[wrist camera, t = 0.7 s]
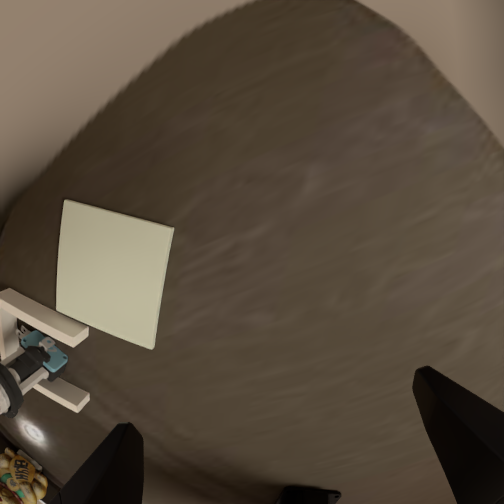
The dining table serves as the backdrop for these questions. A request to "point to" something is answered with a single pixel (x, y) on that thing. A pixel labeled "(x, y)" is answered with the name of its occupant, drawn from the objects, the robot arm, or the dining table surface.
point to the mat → (112, 271)
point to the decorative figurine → (20, 479)
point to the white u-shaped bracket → (52, 323)
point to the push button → (28, 369)
